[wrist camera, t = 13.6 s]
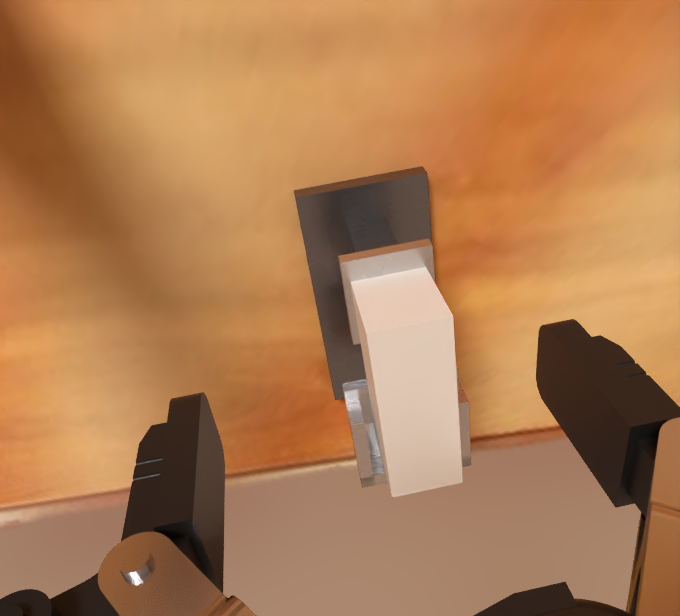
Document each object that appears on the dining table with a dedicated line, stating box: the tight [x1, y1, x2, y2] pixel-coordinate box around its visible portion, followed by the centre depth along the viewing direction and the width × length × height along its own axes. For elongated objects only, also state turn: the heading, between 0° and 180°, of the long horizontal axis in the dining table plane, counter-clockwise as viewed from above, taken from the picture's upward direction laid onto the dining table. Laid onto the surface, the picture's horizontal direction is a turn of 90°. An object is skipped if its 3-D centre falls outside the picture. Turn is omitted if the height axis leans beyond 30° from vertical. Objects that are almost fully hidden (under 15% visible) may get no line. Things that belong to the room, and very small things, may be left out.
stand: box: [294, 167, 471, 488], centre depth 45 cm, size 10×20×12 cm, turn 8°
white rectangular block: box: [351, 267, 463, 498], centre depth 40 cm, size 5×14×6 cm, turn 9°
